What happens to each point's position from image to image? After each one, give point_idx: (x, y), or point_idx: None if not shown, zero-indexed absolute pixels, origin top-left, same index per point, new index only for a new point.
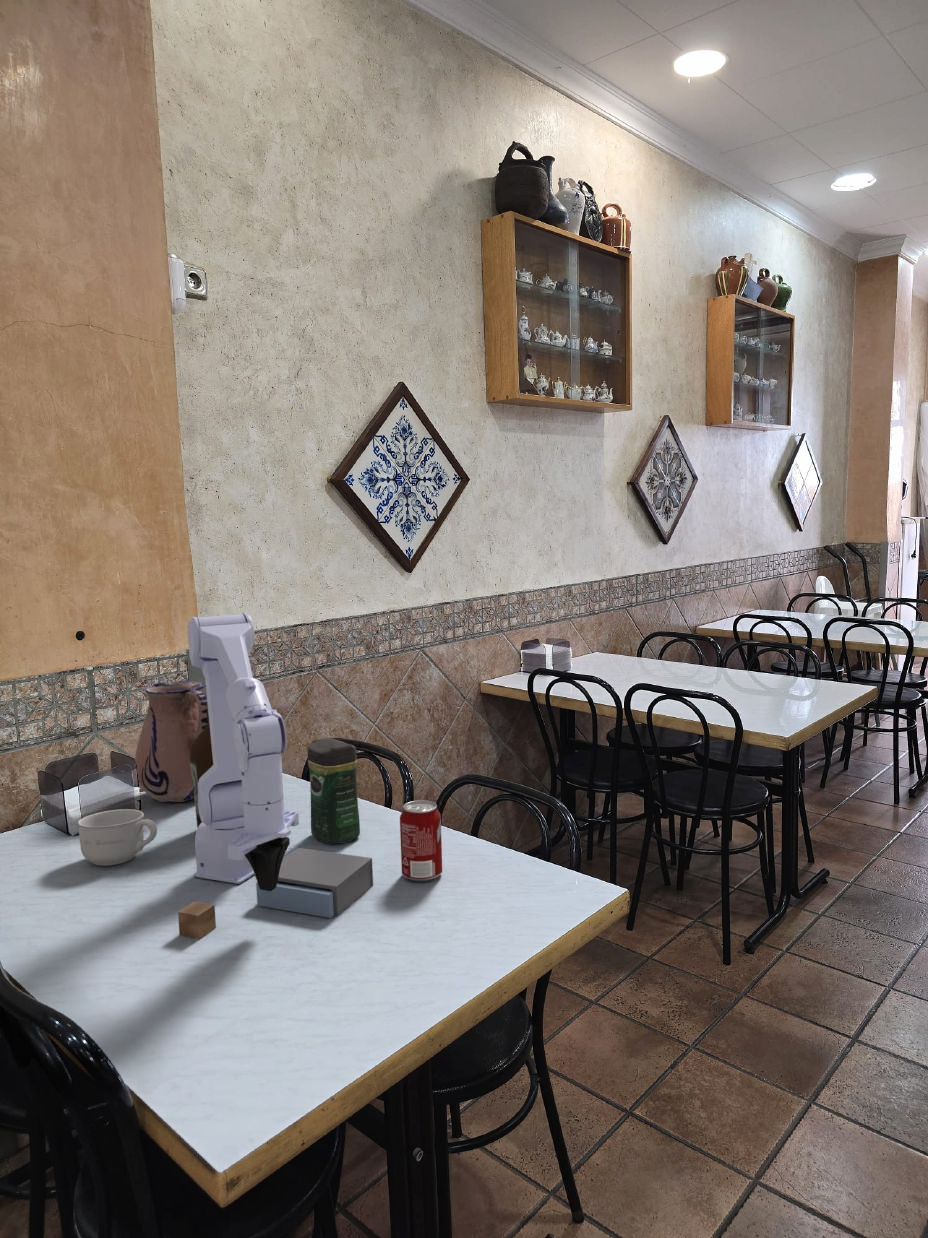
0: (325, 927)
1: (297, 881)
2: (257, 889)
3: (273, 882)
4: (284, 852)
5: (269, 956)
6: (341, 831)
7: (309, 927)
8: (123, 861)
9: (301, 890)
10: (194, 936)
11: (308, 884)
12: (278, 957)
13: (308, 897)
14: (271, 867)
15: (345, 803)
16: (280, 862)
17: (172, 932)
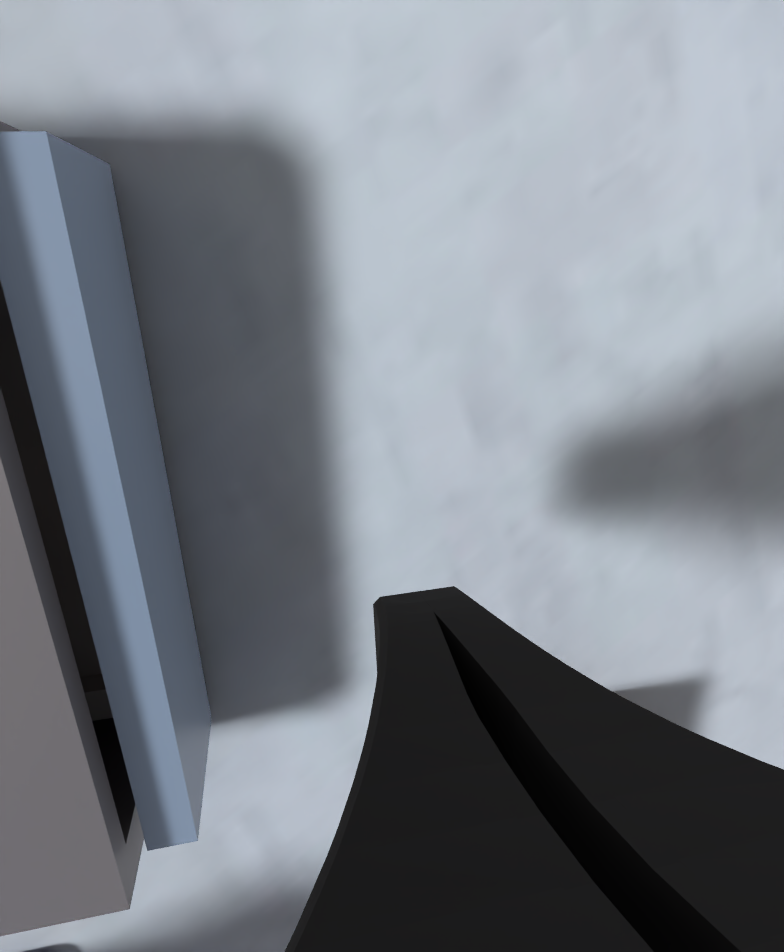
0: (234, 130)
1: (42, 587)
2: (201, 794)
3: (467, 616)
4: (362, 879)
5: (671, 268)
6: None
7: (286, 252)
8: None
9: (120, 473)
10: None
11: (15, 465)
12: (671, 206)
13: (117, 389)
14: (646, 721)
15: None
16: (410, 753)
17: None
